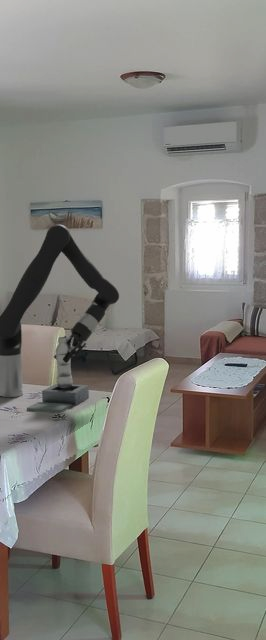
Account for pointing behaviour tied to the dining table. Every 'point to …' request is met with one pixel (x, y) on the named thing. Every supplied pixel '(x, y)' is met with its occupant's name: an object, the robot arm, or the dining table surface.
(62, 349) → the silver metal bottle
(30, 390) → the dining table surface
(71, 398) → the metal collar
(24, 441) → the dining table surface
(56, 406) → the grey-green rectangular panel
